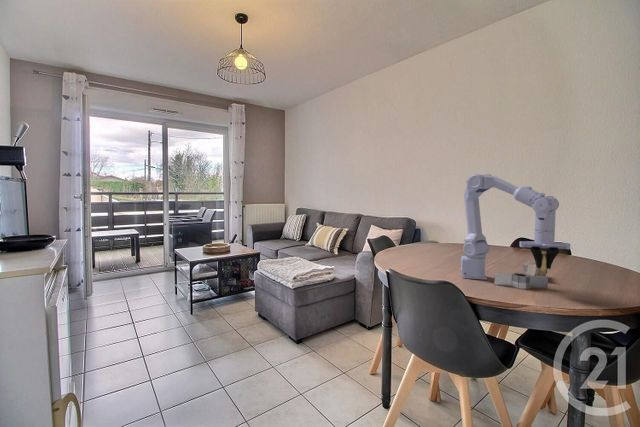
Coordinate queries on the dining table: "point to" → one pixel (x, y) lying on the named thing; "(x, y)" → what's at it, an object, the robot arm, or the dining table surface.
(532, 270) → the mineral specimen
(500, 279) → the hinge
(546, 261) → the hinge pin
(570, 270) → the dining table surface
